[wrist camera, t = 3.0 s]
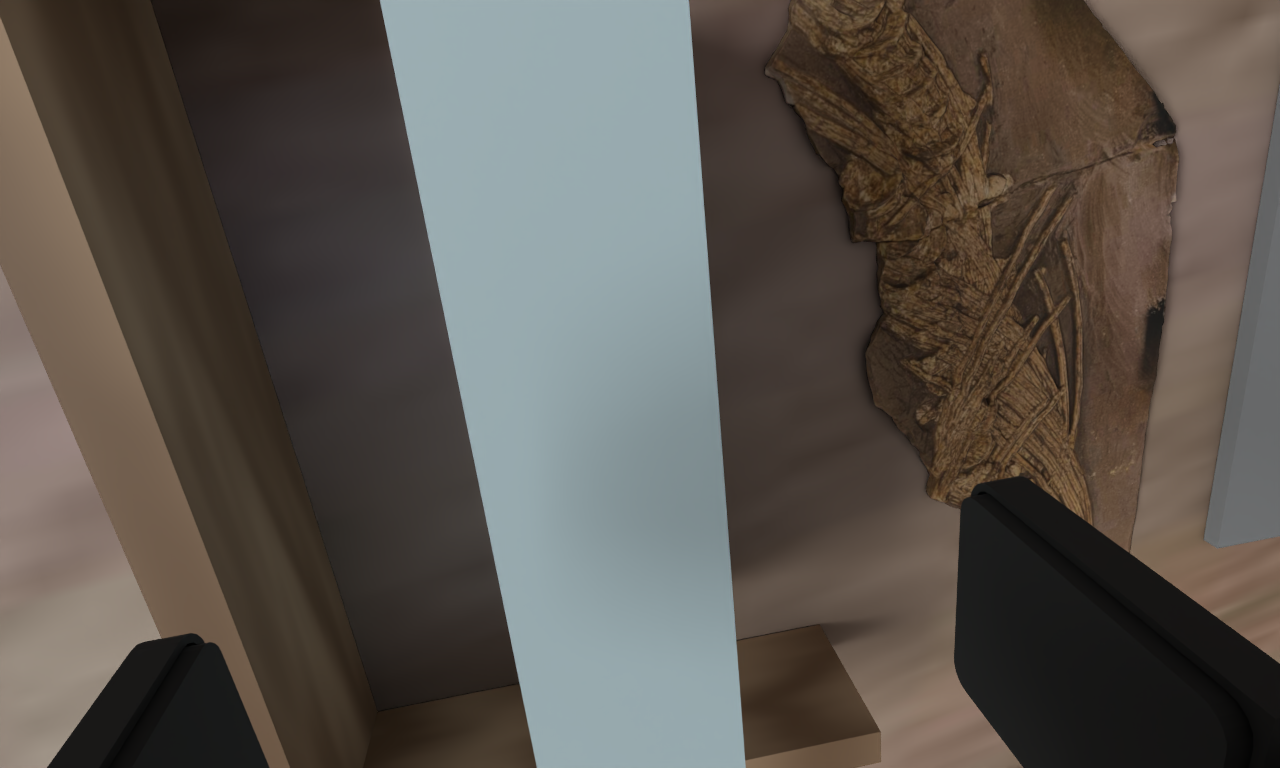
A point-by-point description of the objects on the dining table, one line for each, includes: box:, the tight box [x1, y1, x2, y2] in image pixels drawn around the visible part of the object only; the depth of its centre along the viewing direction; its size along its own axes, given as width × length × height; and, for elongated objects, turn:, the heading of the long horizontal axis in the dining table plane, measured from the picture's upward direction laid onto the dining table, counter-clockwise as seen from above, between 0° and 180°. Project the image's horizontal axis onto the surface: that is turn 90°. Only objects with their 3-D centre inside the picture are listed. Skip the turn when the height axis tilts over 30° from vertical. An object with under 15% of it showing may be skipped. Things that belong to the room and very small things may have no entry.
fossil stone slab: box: [765, 0, 1179, 552], centre depth 23 cm, size 26×11×1 cm, turn 23°
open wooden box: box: [0, 0, 881, 768], centre depth 19 cm, size 17×25×6 cm
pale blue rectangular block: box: [380, 0, 746, 768], centre depth 18 cm, size 4×18×9 cm, turn 6°
